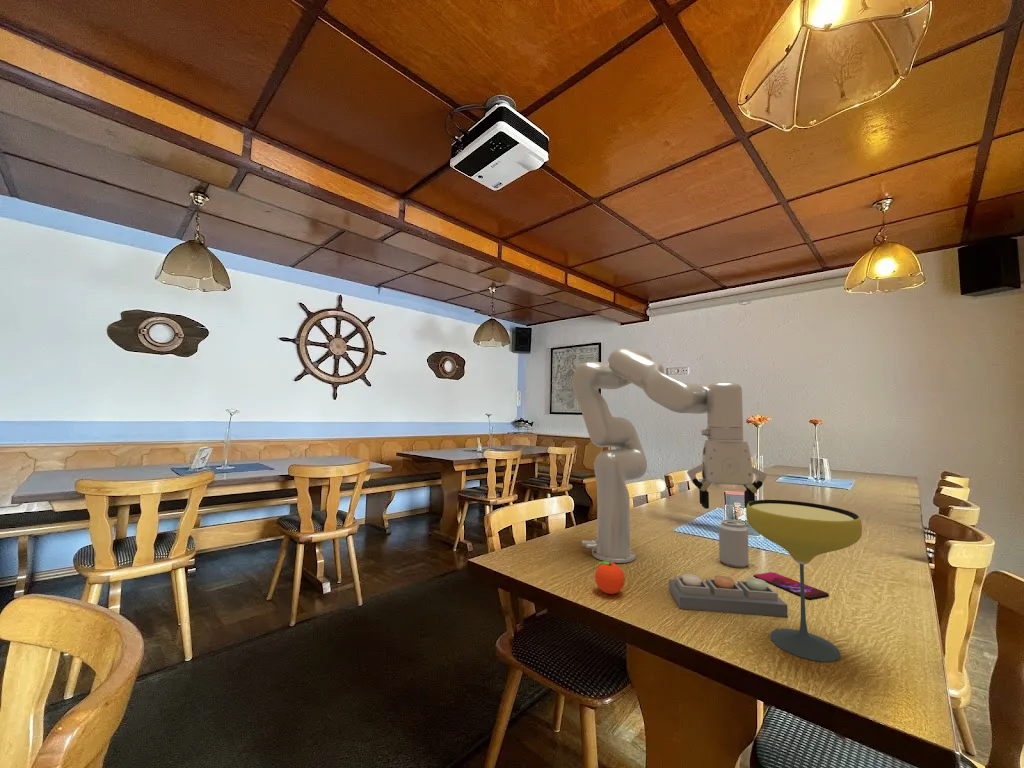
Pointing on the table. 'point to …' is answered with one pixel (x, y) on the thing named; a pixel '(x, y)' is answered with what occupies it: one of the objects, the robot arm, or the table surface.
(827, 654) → the cocktail glass
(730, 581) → the terracotta button
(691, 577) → the cream button
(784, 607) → the button panel
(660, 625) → the table surface
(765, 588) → the sage button
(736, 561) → the can
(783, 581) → the smartphone
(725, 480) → the robot arm
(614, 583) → the clementine
